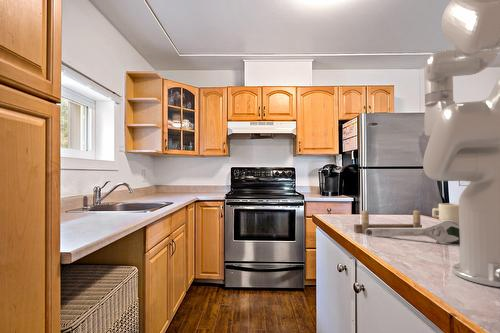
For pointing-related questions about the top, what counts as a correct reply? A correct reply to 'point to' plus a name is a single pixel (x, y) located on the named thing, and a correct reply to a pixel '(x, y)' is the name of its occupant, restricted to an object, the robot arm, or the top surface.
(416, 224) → the peg rack
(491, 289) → the top surface
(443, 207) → the character mug
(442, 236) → the wrench
